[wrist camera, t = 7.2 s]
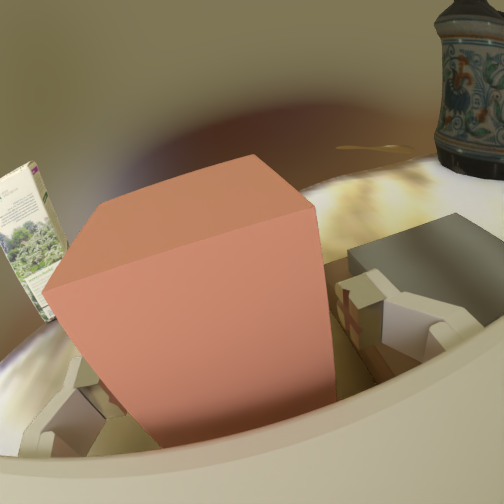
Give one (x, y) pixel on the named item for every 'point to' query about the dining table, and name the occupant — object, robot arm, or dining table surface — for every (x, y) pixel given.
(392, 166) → the dining table surface
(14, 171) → the syrup box
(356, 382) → the dining table surface
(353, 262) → the podium
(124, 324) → the carton
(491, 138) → the beer stein
